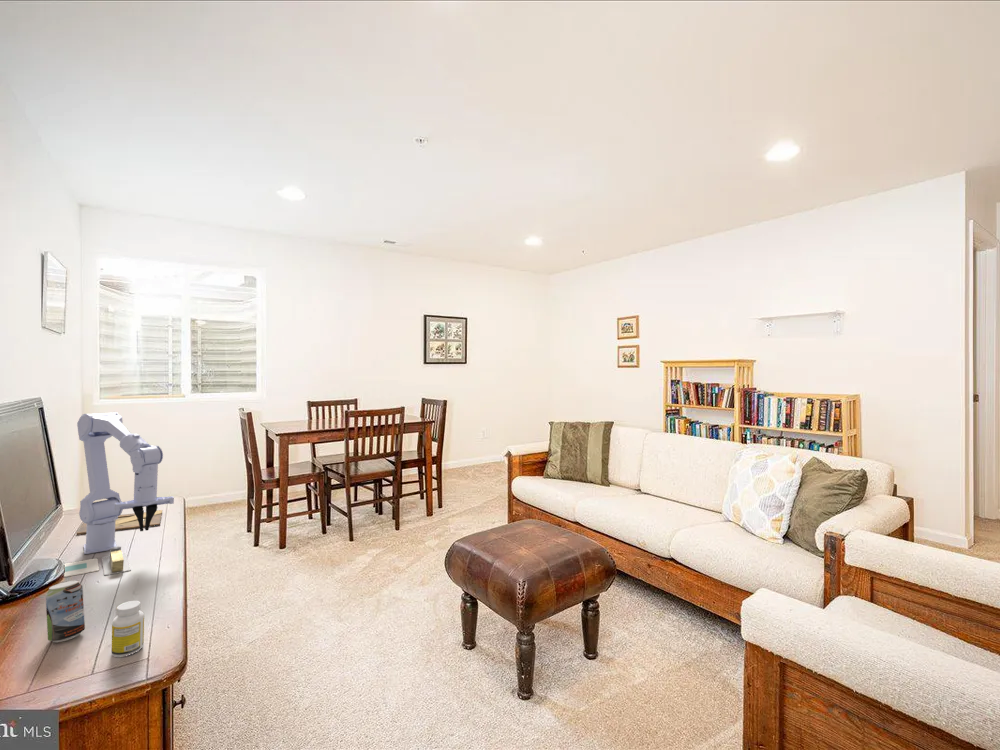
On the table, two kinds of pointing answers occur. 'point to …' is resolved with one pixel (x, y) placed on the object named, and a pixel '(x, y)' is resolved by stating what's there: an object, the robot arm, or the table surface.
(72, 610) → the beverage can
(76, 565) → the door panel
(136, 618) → the supplement bottle
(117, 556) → the bar
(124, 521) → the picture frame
